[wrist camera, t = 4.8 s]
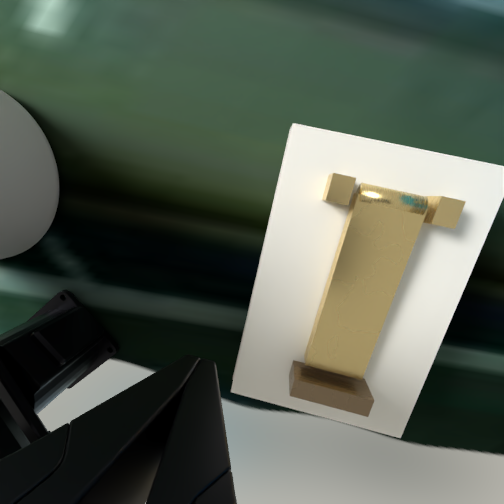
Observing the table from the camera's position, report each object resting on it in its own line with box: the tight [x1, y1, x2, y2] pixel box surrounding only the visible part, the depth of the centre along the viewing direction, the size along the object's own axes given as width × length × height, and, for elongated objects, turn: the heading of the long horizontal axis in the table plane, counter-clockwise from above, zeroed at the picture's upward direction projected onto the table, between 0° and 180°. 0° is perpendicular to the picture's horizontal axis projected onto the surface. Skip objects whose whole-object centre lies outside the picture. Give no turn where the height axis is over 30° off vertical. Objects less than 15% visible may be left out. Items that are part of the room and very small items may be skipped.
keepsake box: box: [231, 123, 504, 438], centre depth 15 cm, size 15×10×7 cm
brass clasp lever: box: [304, 183, 428, 380], centre depth 13 cm, size 10×3×1 cm, turn 167°
